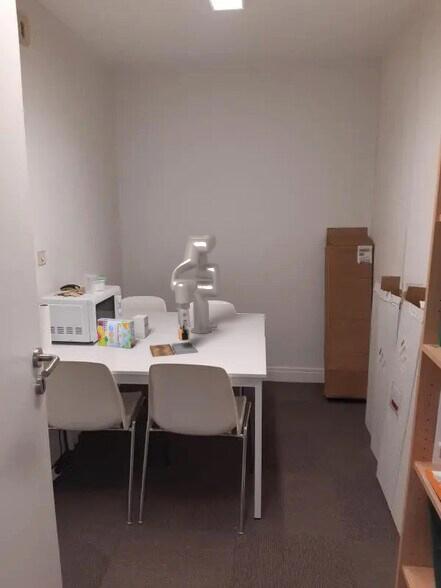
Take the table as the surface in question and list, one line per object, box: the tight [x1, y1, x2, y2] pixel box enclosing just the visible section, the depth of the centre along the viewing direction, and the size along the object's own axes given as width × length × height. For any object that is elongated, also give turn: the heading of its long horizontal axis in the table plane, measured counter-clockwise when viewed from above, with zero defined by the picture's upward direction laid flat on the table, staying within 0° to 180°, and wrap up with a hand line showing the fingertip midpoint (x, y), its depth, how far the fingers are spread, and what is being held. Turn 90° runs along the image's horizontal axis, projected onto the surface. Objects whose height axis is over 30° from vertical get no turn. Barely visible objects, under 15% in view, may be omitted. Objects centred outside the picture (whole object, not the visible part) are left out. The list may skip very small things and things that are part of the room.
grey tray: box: [171, 341, 198, 356], centre depth 240 cm, size 11×14×2 cm
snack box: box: [96, 317, 136, 349], centre depth 250 cm, size 21×6×15 cm, turn 71°
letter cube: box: [177, 327, 190, 342], centre depth 239 cm, size 5×5×5 cm
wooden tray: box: [149, 343, 175, 358], centre depth 237 cm, size 11×14×2 cm
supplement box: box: [132, 314, 150, 339], centre depth 267 cm, size 7×7×13 cm
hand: (184, 337), depth 240 cm, fingers closed on letter cube, 4 cm apart
